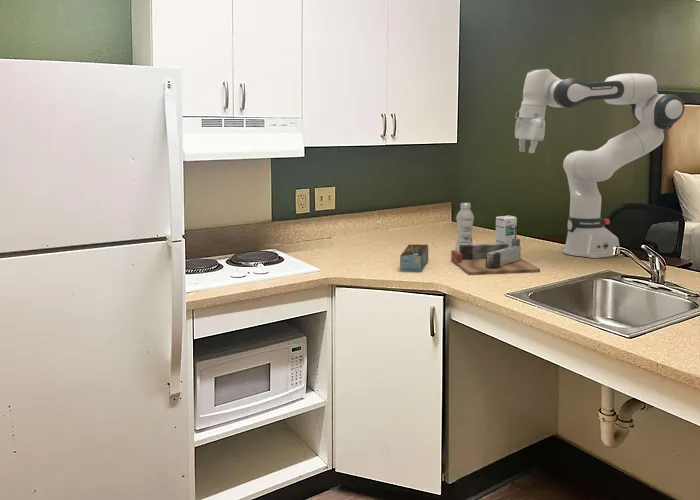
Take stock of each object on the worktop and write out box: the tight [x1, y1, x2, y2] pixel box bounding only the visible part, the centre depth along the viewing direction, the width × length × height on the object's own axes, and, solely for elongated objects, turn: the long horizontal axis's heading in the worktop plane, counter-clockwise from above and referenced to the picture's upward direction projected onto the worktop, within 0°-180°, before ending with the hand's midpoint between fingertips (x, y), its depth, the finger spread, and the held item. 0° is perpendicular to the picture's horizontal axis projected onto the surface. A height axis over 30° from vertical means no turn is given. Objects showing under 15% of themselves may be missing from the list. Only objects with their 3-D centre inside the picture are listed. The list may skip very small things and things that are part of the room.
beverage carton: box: [399, 243, 429, 273], centre depth 225 cm, size 8×19×7 cm, turn 166°
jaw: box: [486, 245, 522, 269], centre depth 221 cm, size 18×3×5 cm, turn 134°
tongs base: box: [450, 238, 541, 276], centre depth 222 cm, size 25×22×8 cm
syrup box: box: [494, 215, 518, 247], centre depth 242 cm, size 6×6×14 cm
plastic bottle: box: [455, 202, 475, 252], centre depth 241 cm, size 6×7×20 cm
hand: (526, 152), depth 230 cm, fingers open, 8 cm apart
